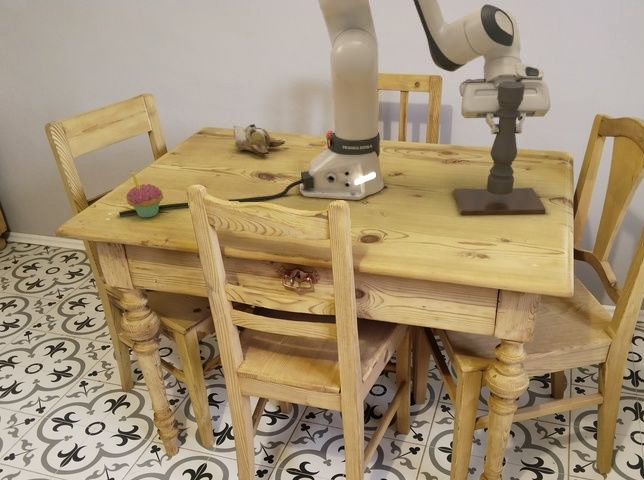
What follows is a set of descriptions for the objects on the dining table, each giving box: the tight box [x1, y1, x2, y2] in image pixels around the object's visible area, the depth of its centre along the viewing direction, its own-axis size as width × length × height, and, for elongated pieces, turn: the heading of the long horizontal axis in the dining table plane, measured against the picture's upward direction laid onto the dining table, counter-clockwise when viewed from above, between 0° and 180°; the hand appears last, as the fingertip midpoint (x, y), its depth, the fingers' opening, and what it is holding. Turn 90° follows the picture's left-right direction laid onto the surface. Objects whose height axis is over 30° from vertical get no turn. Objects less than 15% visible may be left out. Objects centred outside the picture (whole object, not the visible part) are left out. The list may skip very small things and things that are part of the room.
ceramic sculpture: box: [233, 124, 286, 156], centre depth 183 cm, size 11×9×15 cm
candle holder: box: [486, 82, 525, 195], centre depth 141 cm, size 6×6×25 cm
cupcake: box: [126, 169, 164, 218], centre depth 146 cm, size 9×8×12 cm
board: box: [453, 187, 546, 216], centre depth 150 cm, size 20×13×1 cm, turn 89°
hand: (506, 132), depth 140 cm, fingers closed on candle holder, 4 cm apart
